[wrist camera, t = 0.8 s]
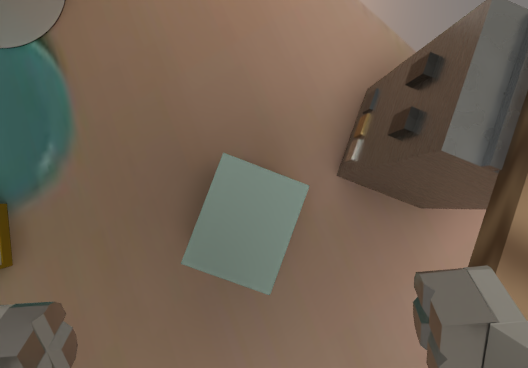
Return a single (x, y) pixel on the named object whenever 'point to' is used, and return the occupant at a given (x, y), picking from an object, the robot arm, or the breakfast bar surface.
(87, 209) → the breakfast bar surface
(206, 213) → the block
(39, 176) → the breakfast bar surface
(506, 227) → the walnut bar
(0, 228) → the soap bottle
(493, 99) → the control unit
